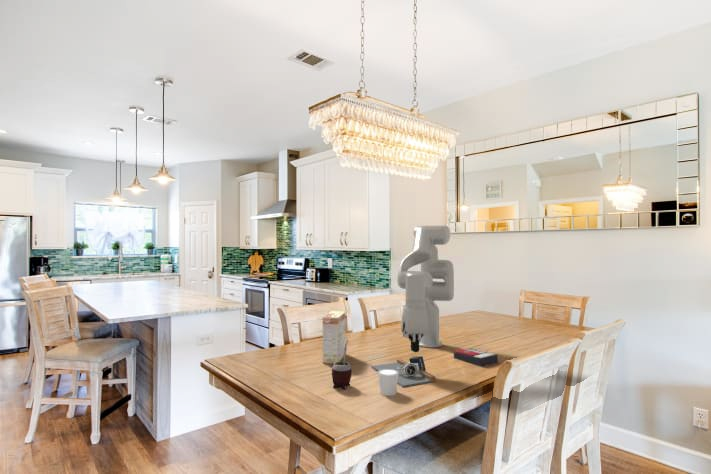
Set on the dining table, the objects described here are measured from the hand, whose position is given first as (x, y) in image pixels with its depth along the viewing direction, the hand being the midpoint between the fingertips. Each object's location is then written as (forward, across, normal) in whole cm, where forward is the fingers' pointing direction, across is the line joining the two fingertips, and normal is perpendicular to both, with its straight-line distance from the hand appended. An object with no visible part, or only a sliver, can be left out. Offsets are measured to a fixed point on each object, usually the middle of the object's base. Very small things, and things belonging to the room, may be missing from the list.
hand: (415, 351), depth 153 cm
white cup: (+8, +20, +14) cm, 26 cm away
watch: (+5, -2, 0) cm, 5 cm away
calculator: (+9, -33, -2) cm, 34 cm away
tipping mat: (+8, +6, 0) cm, 10 cm away
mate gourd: (+8, +32, +2) cm, 33 cm away
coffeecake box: (+8, +22, -30) cm, 38 cm away
